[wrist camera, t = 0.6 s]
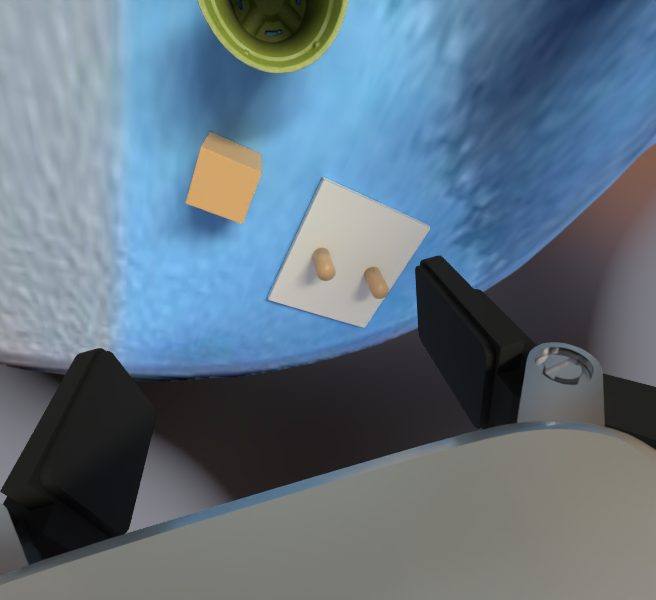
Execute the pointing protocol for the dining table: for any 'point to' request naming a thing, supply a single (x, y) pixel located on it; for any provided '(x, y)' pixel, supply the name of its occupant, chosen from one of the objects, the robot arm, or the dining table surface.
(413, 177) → the dining table surface
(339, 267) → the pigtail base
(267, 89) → the dining table surface
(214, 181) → the tan cardboard-like box
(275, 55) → the plant pot
